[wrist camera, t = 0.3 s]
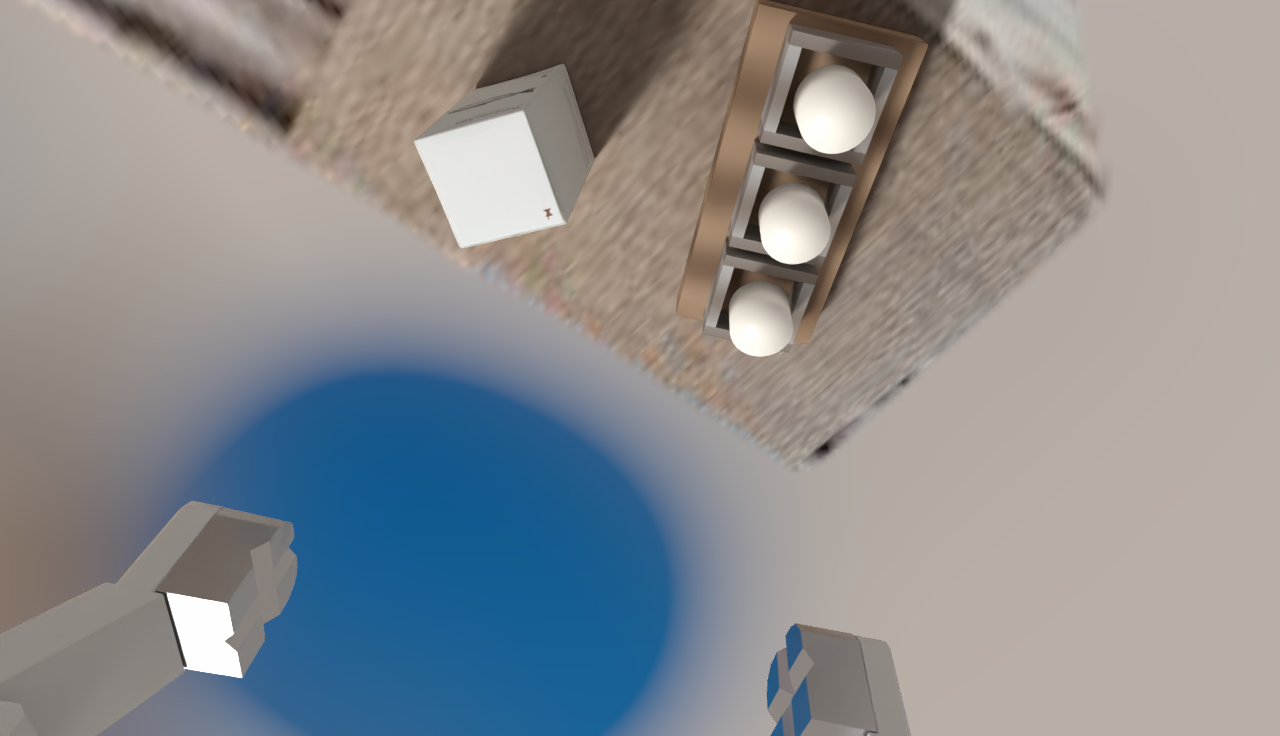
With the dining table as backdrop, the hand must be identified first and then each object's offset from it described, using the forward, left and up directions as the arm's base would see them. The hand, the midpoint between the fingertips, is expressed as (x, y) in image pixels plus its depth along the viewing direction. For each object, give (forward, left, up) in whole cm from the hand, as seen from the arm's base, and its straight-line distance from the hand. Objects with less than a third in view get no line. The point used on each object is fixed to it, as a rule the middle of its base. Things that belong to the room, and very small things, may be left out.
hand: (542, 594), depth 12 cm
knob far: (+15, +10, -40) cm, 44 cm away
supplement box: (+7, -9, -46) cm, 47 cm away
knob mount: (+7, +10, -46) cm, 48 cm away
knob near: (0, +10, -40) cm, 41 cm away
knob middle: (+7, +10, -40) cm, 42 cm away
